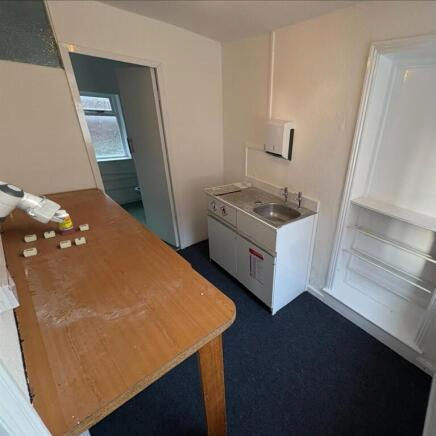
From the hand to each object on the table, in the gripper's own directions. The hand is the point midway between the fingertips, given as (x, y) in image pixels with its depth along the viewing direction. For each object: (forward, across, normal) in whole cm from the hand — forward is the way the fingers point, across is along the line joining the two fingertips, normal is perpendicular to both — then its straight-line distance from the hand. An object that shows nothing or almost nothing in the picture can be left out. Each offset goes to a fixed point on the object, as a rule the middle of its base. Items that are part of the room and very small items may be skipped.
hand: (64, 219), depth 124 cm
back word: (+3, 0, +8) cm, 9 cm away
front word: (+5, -18, +6) cm, 20 cm away
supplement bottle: (+4, 0, +4) cm, 6 cm away
